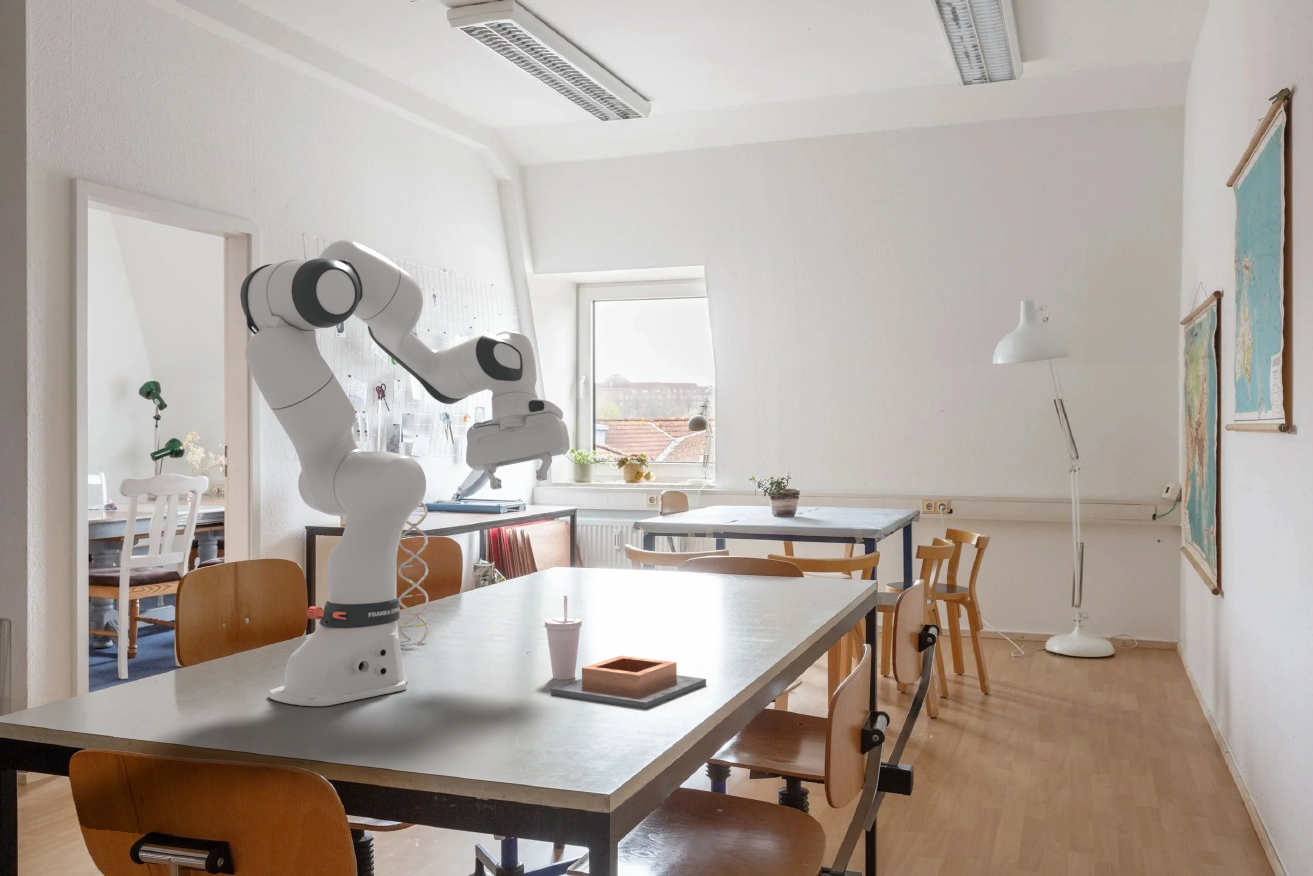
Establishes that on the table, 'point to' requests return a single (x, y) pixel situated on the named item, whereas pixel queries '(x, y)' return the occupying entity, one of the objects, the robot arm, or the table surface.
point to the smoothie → (563, 644)
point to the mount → (629, 682)
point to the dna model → (410, 580)
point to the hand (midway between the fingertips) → (518, 484)
